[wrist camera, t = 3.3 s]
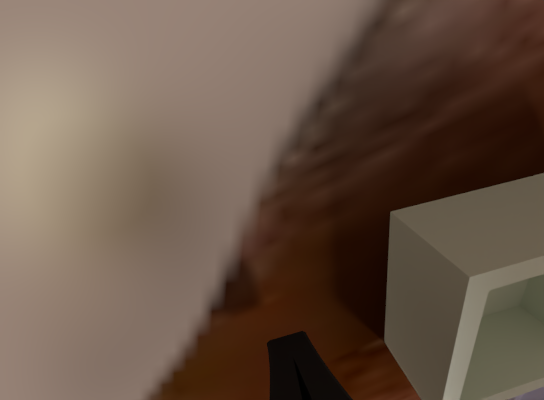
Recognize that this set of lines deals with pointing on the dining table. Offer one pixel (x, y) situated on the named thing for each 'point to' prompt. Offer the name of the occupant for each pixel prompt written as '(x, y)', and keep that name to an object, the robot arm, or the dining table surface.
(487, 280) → the socket block
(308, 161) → the dining table surface
